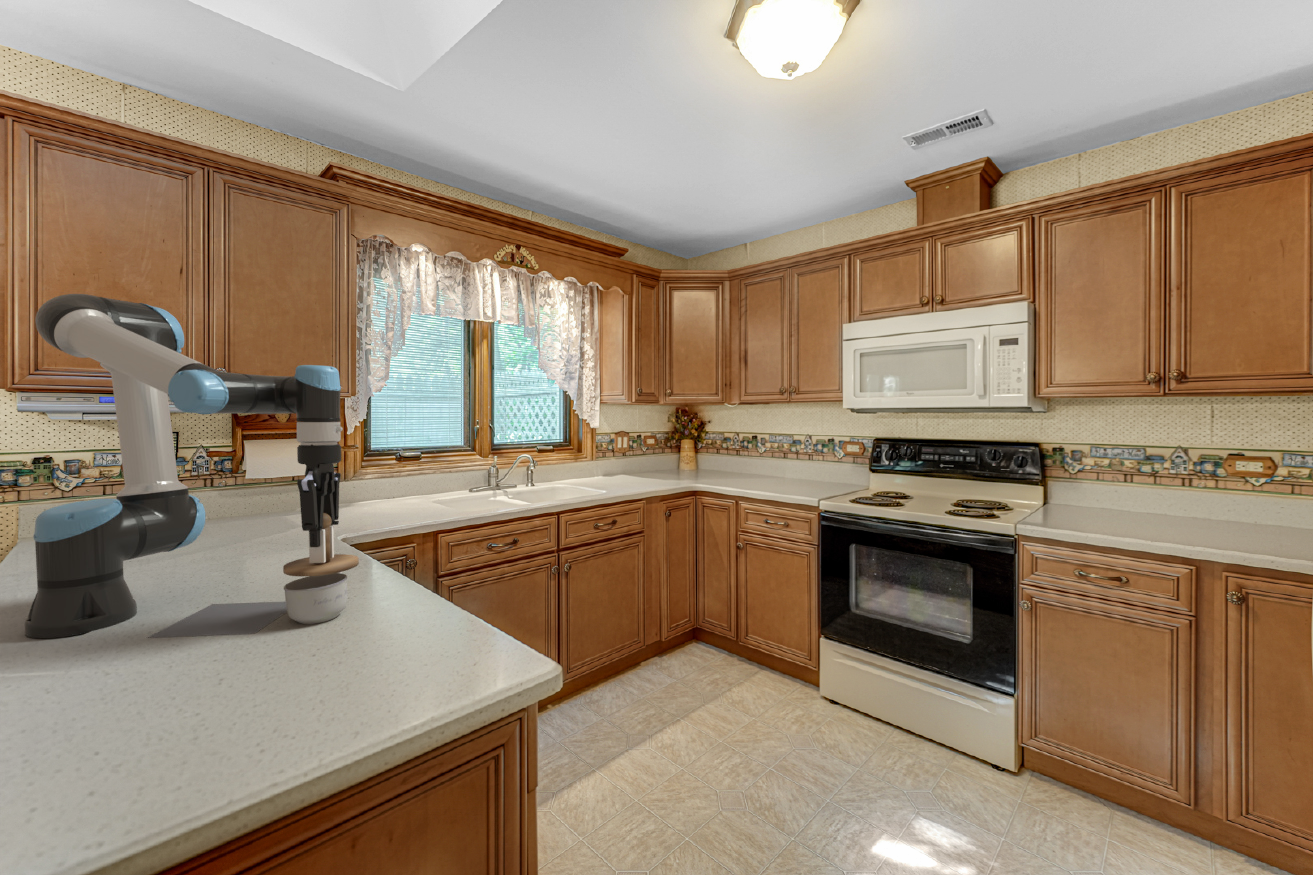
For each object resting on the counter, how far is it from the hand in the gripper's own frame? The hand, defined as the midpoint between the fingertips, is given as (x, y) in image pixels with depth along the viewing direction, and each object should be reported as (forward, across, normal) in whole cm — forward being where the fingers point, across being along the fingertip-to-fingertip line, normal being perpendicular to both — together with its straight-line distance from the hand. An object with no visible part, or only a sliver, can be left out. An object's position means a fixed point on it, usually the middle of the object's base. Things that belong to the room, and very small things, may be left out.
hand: (321, 559), depth 113 cm
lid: (+1, 0, 0) cm, 1 cm away
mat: (+12, 0, +17) cm, 21 cm away
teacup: (+12, 0, 0) cm, 12 cm away
